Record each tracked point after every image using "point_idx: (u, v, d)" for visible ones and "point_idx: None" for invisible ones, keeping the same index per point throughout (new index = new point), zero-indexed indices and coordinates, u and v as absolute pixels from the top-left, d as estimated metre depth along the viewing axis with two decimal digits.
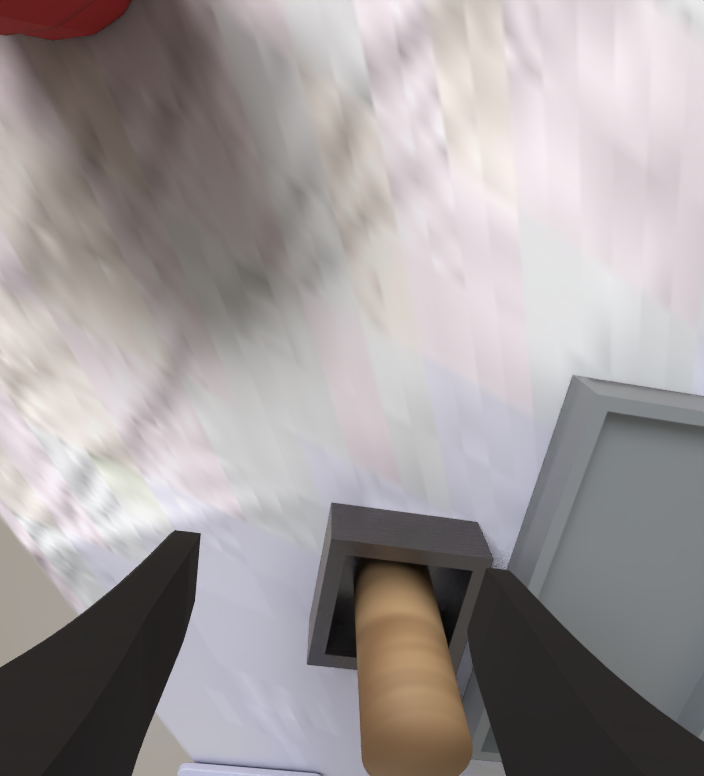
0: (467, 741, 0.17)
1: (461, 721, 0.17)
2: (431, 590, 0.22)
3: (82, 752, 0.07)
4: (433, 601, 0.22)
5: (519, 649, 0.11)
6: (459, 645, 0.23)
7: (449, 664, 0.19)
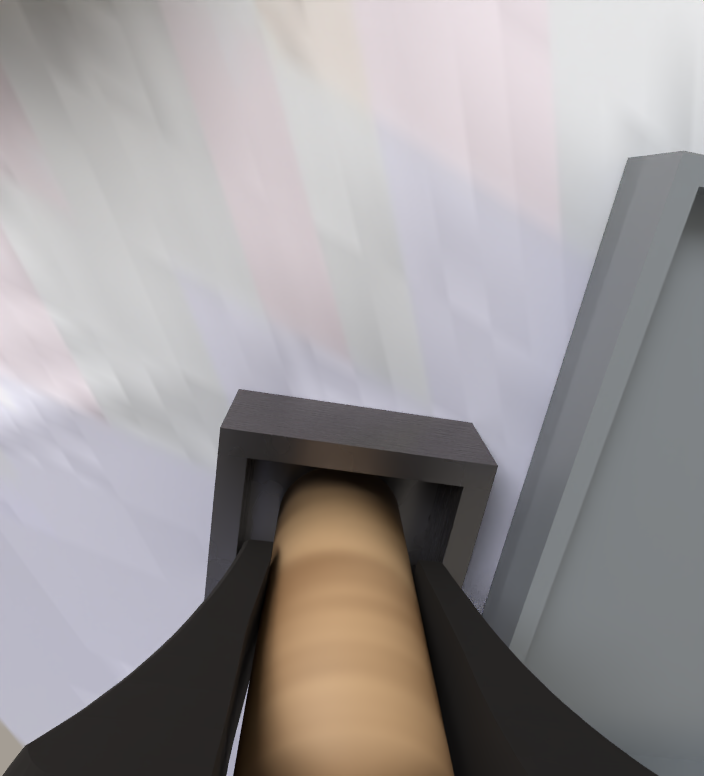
0: None
1: (435, 746, 0.08)
2: (396, 523, 0.14)
3: (218, 763, 0.07)
4: (397, 537, 0.13)
5: (438, 640, 0.11)
6: None
7: (418, 636, 0.10)
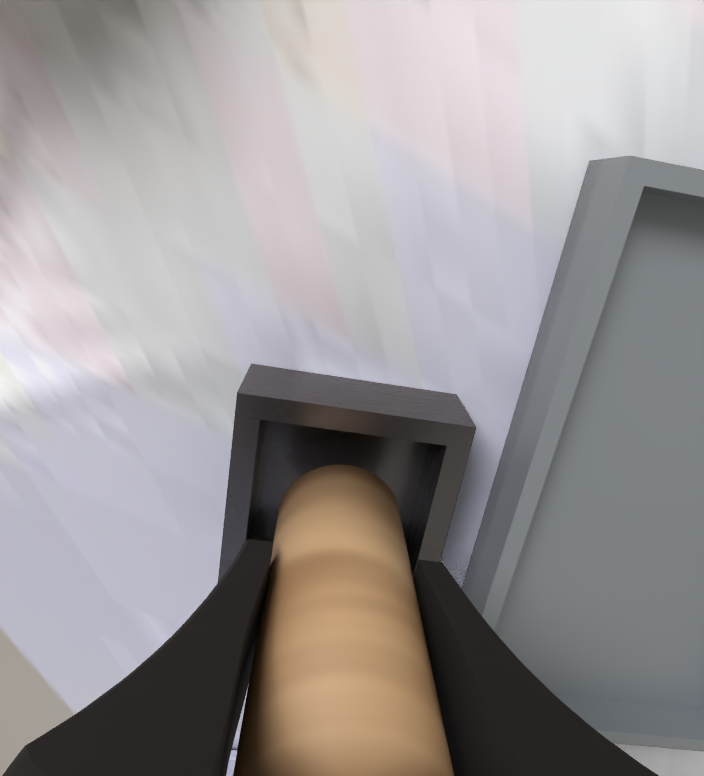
0: None
1: (434, 746, 0.08)
2: (396, 522, 0.14)
3: (218, 763, 0.07)
4: (397, 537, 0.13)
5: (438, 640, 0.11)
6: None
7: (417, 636, 0.10)
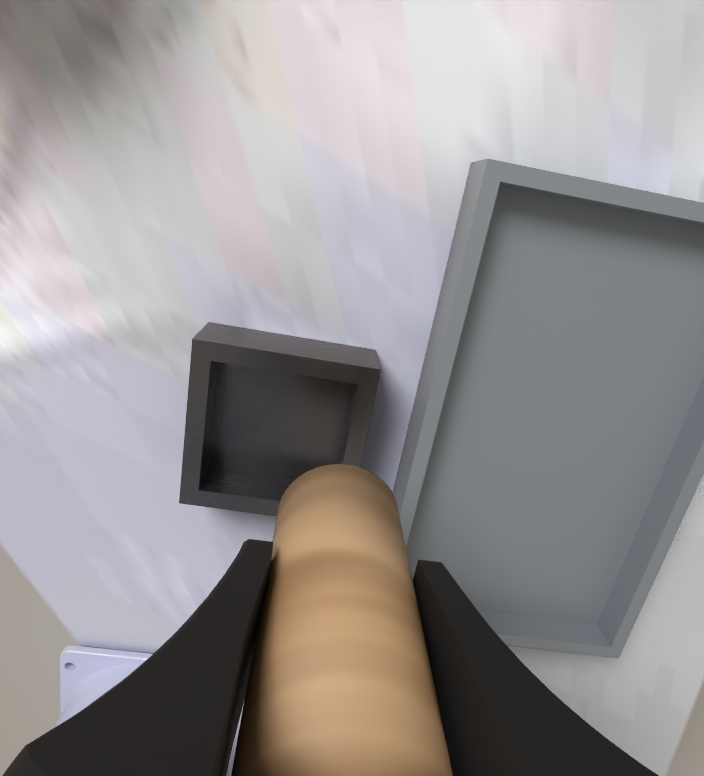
0: None
1: (433, 746, 0.08)
2: (395, 522, 0.14)
3: (218, 763, 0.07)
4: (396, 537, 0.13)
5: (438, 640, 0.11)
6: None
7: (416, 635, 0.10)
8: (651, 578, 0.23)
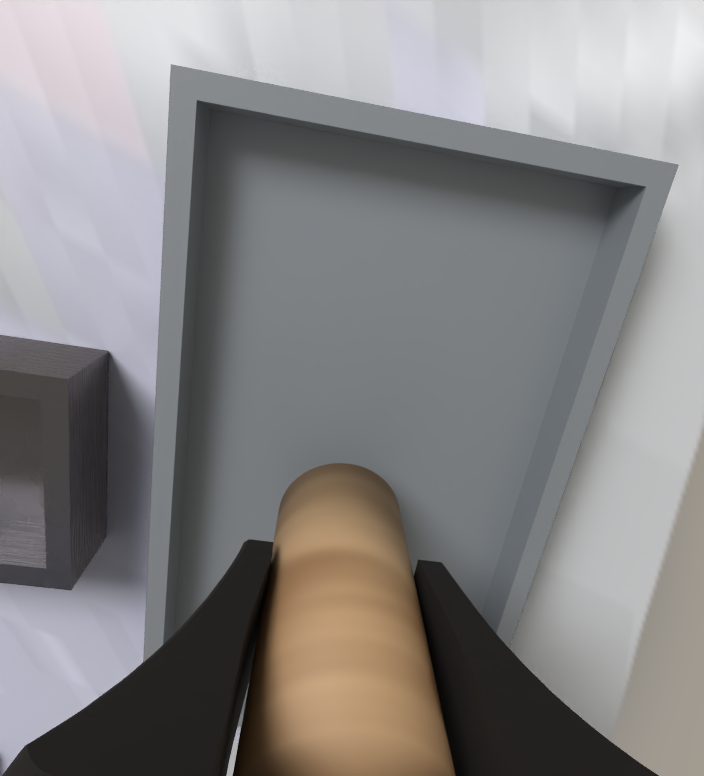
0: None
1: (436, 745, 0.08)
2: (396, 521, 0.14)
3: (218, 763, 0.07)
4: (398, 536, 0.13)
5: (438, 640, 0.11)
6: (60, 532, 0.15)
7: (418, 634, 0.10)
8: None
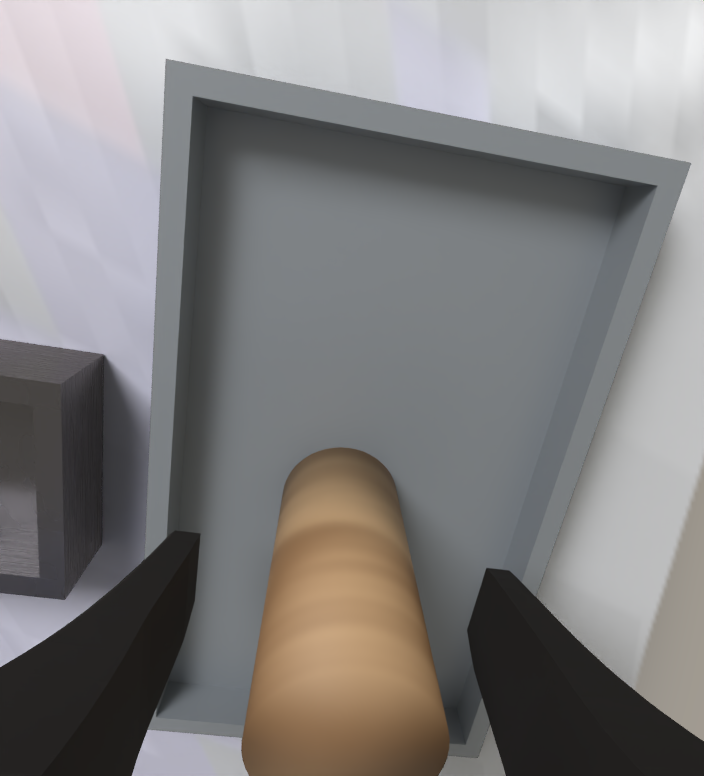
0: (439, 725, 0.09)
1: (428, 687, 0.09)
2: (393, 500, 0.15)
3: (82, 752, 0.07)
4: (395, 513, 0.14)
5: (519, 649, 0.11)
6: (53, 540, 0.15)
7: (413, 597, 0.11)
8: None
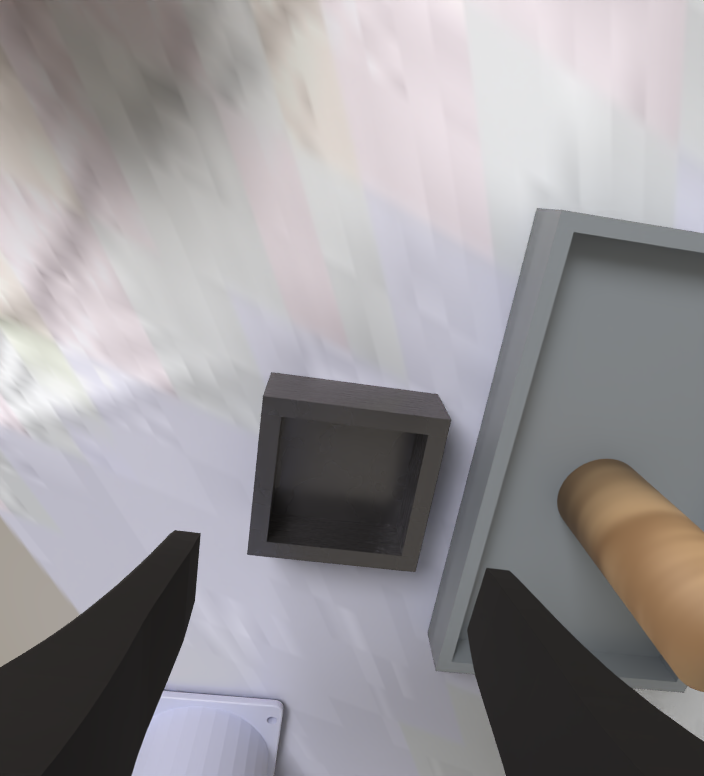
0: None
1: None
2: None
3: (82, 752, 0.07)
4: None
5: (519, 649, 0.11)
6: (418, 529, 0.21)
7: None
8: None
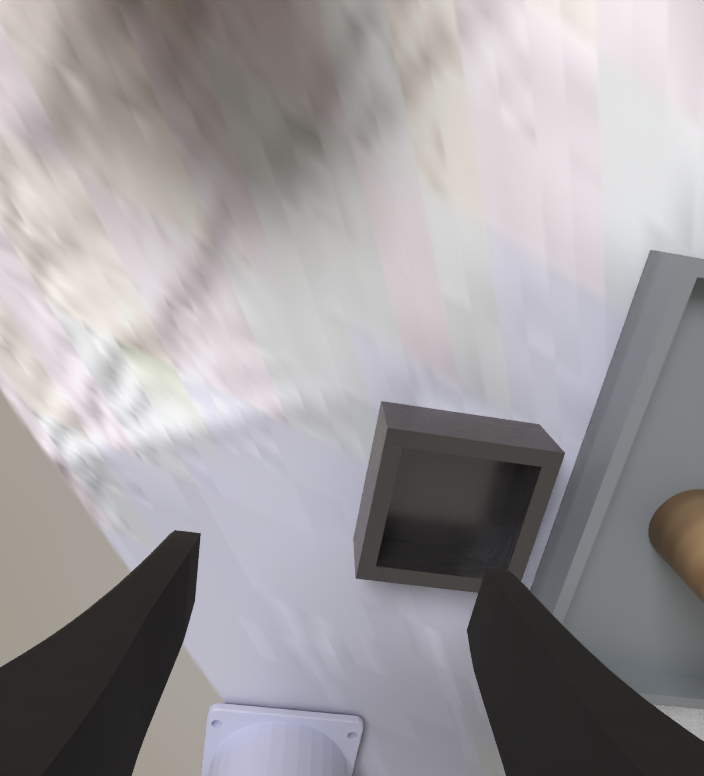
0: None
1: None
2: None
3: (82, 752, 0.07)
4: None
5: (519, 649, 0.11)
6: (523, 556, 0.21)
7: None
8: None
